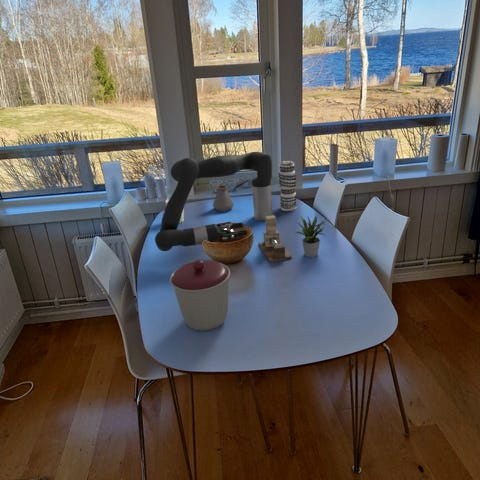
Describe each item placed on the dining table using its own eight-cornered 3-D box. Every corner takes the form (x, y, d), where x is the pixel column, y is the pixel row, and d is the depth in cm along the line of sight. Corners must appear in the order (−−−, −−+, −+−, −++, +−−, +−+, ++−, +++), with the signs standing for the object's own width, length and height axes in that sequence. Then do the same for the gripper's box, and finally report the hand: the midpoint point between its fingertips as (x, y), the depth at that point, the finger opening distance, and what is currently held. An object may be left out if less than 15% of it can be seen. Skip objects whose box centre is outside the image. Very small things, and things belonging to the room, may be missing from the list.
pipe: (266, 237, 174) (266, 232, 173) (271, 236, 174) (270, 231, 174) (277, 252, 160) (276, 247, 159) (282, 251, 160) (282, 246, 159)
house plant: (330, 263, 154) (330, 224, 148) (293, 263, 157) (292, 224, 151) (330, 247, 167) (330, 210, 160) (296, 247, 170) (295, 211, 163)
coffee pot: (214, 214, 217) (210, 187, 210) (212, 207, 227) (209, 181, 221) (253, 209, 218) (251, 182, 212) (250, 202, 229) (248, 177, 223)
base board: (258, 244, 176) (257, 233, 174) (278, 241, 177) (277, 229, 175) (269, 262, 160) (269, 249, 157) (291, 258, 161) (291, 246, 159)
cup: (184, 224, 206) (181, 202, 201) (167, 225, 207) (163, 203, 202) (187, 218, 214) (184, 196, 210) (170, 219, 215) (166, 197, 210)
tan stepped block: (264, 244, 171) (262, 216, 166) (277, 242, 172) (276, 214, 167) (266, 247, 169) (264, 219, 164) (279, 245, 170) (278, 217, 164)
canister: (182, 344, 117) (171, 281, 109) (174, 312, 133) (163, 254, 125) (242, 329, 121) (235, 267, 113) (226, 299, 137) (220, 243, 129)
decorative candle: (276, 207, 217) (274, 161, 207) (291, 204, 221) (289, 158, 211) (285, 212, 210) (283, 164, 200) (300, 208, 213) (299, 161, 203)
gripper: (206, 232, 154) (247, 226, 157) (202, 220, 167) (240, 214, 170) (209, 250, 158) (249, 243, 160) (204, 236, 170) (241, 230, 173)
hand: (244, 228), depth 165 cm, fingers open, 8 cm apart
